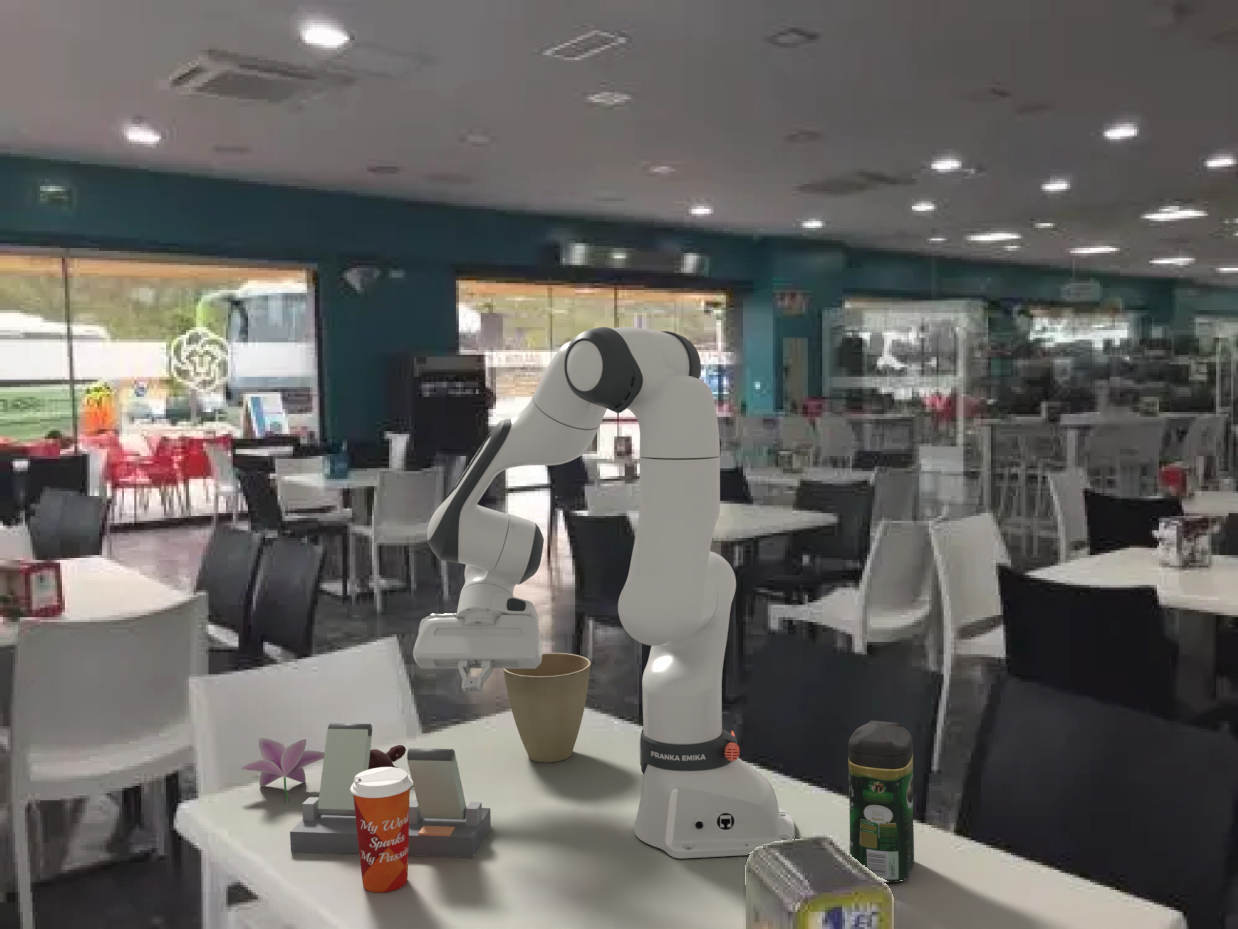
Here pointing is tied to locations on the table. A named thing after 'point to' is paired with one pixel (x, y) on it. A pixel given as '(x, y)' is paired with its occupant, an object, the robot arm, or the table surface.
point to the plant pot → (549, 704)
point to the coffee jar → (882, 799)
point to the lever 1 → (343, 766)
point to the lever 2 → (437, 783)
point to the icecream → (385, 757)
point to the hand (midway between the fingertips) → (471, 690)
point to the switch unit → (423, 832)
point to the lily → (283, 761)
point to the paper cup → (382, 827)
